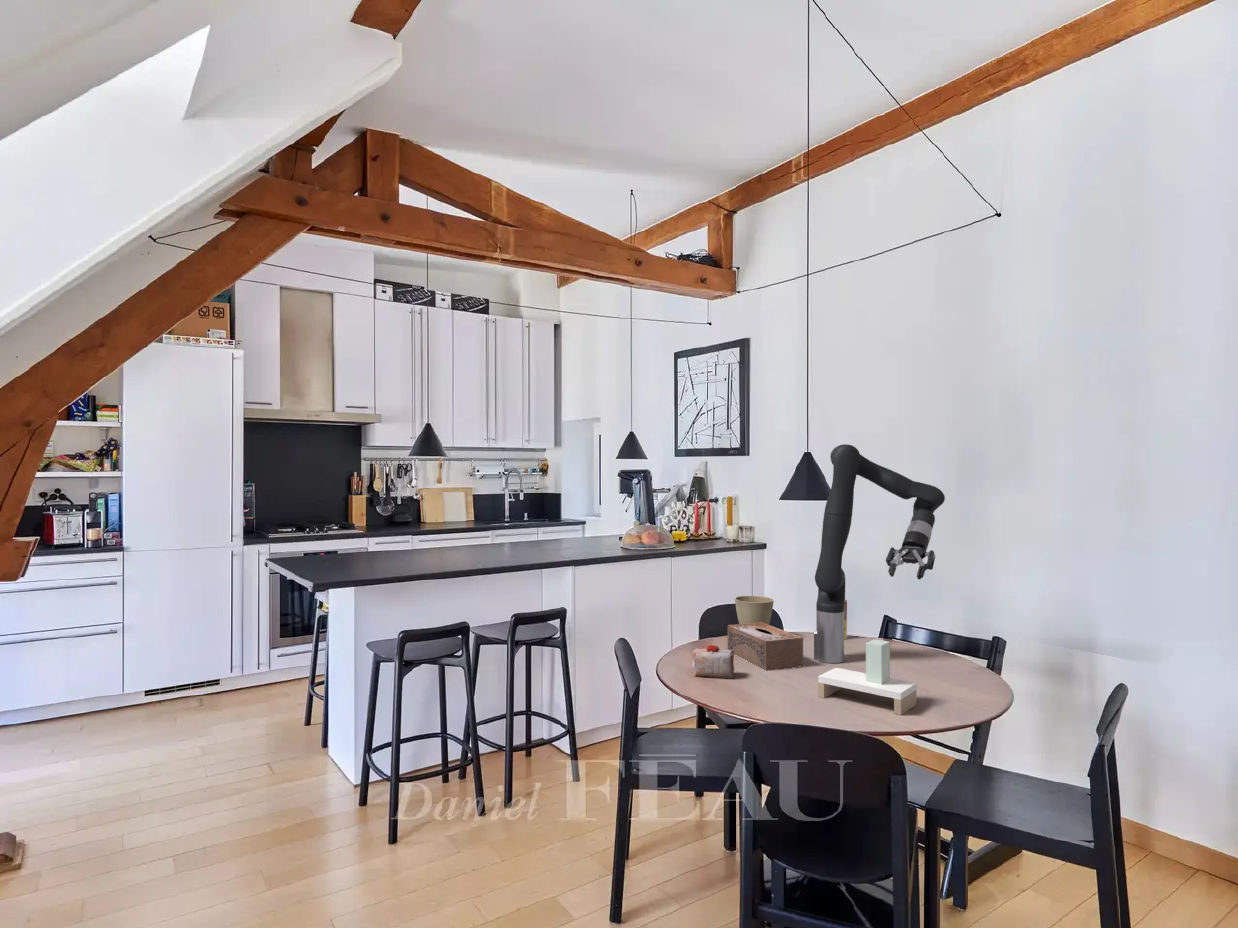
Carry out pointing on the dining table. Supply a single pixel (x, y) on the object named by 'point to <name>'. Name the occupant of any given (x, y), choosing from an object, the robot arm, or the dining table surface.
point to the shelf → (868, 687)
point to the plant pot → (753, 609)
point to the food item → (713, 662)
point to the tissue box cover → (766, 645)
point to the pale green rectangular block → (877, 661)
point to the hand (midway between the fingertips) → (904, 576)
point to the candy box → (845, 619)
